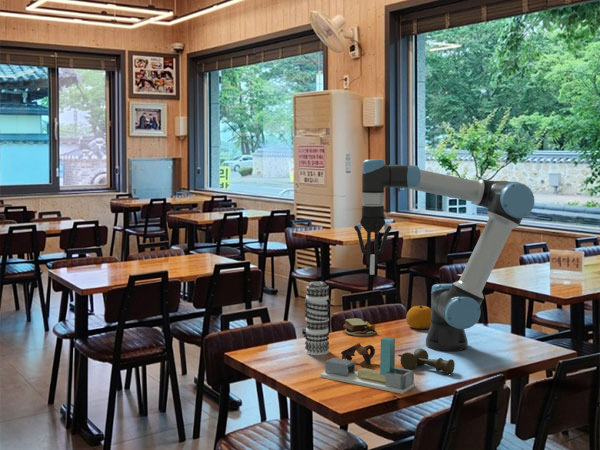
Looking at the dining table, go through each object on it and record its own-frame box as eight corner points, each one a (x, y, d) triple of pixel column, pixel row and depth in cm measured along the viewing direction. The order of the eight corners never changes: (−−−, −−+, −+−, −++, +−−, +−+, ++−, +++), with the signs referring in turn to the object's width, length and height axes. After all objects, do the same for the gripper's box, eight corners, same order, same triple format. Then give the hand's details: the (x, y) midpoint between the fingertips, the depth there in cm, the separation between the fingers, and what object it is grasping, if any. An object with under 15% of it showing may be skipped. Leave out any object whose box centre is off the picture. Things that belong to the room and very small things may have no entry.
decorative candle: (316, 347, 271) (317, 279, 269) (335, 352, 265) (335, 282, 262) (298, 351, 265) (299, 282, 262) (317, 357, 258) (317, 286, 256)
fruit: (438, 325, 305) (438, 301, 304) (431, 332, 294) (431, 307, 293) (410, 323, 309) (410, 299, 308) (402, 329, 299) (402, 304, 298)
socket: (385, 385, 224) (385, 373, 224) (395, 380, 230) (396, 367, 229) (403, 389, 221) (403, 376, 220) (413, 383, 226) (413, 370, 226)
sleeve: (325, 372, 237) (325, 361, 237) (333, 368, 241) (333, 357, 241) (346, 377, 233) (347, 365, 232) (354, 373, 237) (355, 361, 236)
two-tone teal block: (357, 377, 232) (357, 335, 230) (362, 374, 234) (362, 333, 233) (397, 385, 224) (398, 342, 222) (402, 382, 226) (403, 339, 225)
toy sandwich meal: (351, 338, 285) (351, 326, 284) (339, 330, 298) (339, 318, 297) (381, 336, 288) (381, 324, 288) (368, 328, 301) (368, 316, 301)
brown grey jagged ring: (357, 372, 243) (346, 349, 244) (344, 377, 251) (333, 355, 252) (385, 357, 249) (373, 335, 250) (371, 363, 257) (360, 341, 258)
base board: (320, 377, 236) (320, 373, 236) (335, 370, 243) (335, 367, 243) (401, 393, 220) (401, 390, 220) (415, 385, 227) (415, 382, 227)
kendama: (444, 379, 235) (390, 366, 248) (458, 373, 243) (404, 360, 255) (446, 361, 235) (391, 349, 247) (459, 355, 242) (405, 343, 255)
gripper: (391, 204, 255) (390, 272, 258) (353, 204, 256) (353, 271, 259) (392, 206, 248) (391, 276, 250) (353, 205, 249) (353, 275, 251)
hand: (372, 273), depth 255 cm, fingers closed
